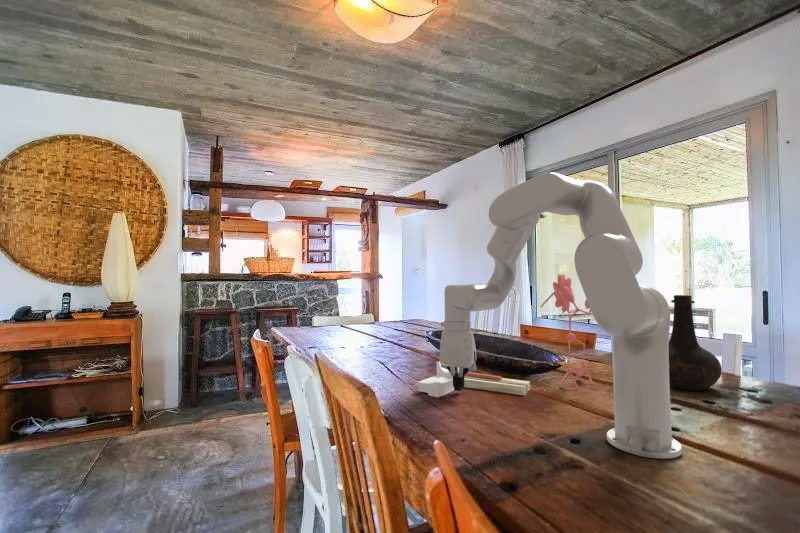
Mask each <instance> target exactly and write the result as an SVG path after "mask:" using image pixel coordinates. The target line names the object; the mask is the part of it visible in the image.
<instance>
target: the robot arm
mask: <svg viewBox="0 0 800 533" xmlns="http://www.w3.org/2000/svg"><path fill="white" fill-rule="evenodd" d="M542 213H550V214H556V215H561V216H578V219H579V225H580V227H579V228H580V230H581V232H582V235H583V236H584V238H583V239H582V240H581V241H580V243H578V245H577V247H576V249H575V251H574V252H575V253H574V259H573V260H574V261H573V262H574V267H575V268H574V269H575V271H576V275H577V277H578V280H579V282H580V286H581V288H582V290H583V293H584V296H585V298H586V299H587V301H588V304H589V307H590V308H589V310H590V309H591V315H592V316H593V318H594V320H595V321H596V322H595V323H596V324H598V326H599V327H600V328H601V329H602V330H603V331H605V332H606V334H609V335H612V336H613V338H612V339H613V340H612V381H613V383H612V384H613V386H612V387H613V411H614V412H613V413H614V428H611V429H609V430H608V431H607V432H606V440H607V442H608V443H609V444H610V445H612V446H613V447H615V448H616V449H618V450H620V451H623V452H625V453H627V454H628V453H629V454H631V455H634V456H639V457H644V458H647V459H648V458H650V459H659V460H660V459H662V460H664V459H665V460H667V459H675V458H678V457H680V456H681V455H683V445H682V444H681V443H680V442H679V441H678V440H676V439H675V438H673V435H672V433H673V432H672V411H671V410H672V409H671V389H670V383H669V340H670V328H671V327H670V326H671V310H670V306H669V303H668V301H667V299H666V297H665V296H664V295H663V294H662V293H661V292H659V290H657V289H655V288H653V287H652V286H651V287H650V286H648V285H643V284H639V282H638V280H637V277H636V275H638V274H639V272H640V271H641V270H642V267H643V263H644V262H643V254H642V252H641V249H640V247H639V245H638V242H637V241H636V240H635V237H634V235H633V232H632V230H631V228H630V226H629V223H628V221H627V219H626V217H625V214H624V213H623V211H622V208H621V206H620V203H619V201H618V199H617V197H616V195H615V194H614V192H613V191H612V190H611V189H610V188H609V187H608V185H607V186H606V185H605V184H603V183H602V182H599V181H594V180H581V179H575V178H572V177H569V176H566V175H563V174H560V173H558V172H543V173H540V174H537V175H535V176H533V177H531V178H529V179H527V180H525V181H523V182H522V183H521V182H520V183H519V184H517V185H515V186H513V187H511V188H509V189H508V190H505V191H504V192H502V193H501V194H499V195H498V196H497V197H495V198H494V200H493V201H491V204H490V206H489V209H488V219H489V221H490V223H491V224H492V225H493V226H495V227H496V228H495V230H494V232H493V234H492V236H491V237H490V240H489V242H488V243H487V245H486V252H487V253H488V255H489V256H490V257H491V258H492V259H493V260H494V268H493V269H494V270H493V271H492V272H493V273H492V274H491V277H490V278H489V280H488V282H487V283H476V284H475V283H471V284H449V285H446V286H445V287H444V321H442V322H440V326H441V327H443V328H444V330H442V331H441V337H440V341H439V342H440V344H439V361H440V363H441V367H442V368H445V369H448V371H449V372H450V373H451V375H452V376H453V387H454V390H453V391H458V392H460V391H462V390H464V388H465V387H464V376H465V375H466V374H467V373H468V372H472V373H473V372H475V371H477V365H476V363H477V348H476V341H475V336H474V331H471V327H472V326H471V324H472V323H471V312H480V311H490V310H491V311H492V310H496V309H498V308H499V307H501V305H502V304H503V303H504V302H505V300H506V299H507V297H508V296H509V294H510V292H511V291H512V290H513V286H514V285H515V280H516V275H517V274H516V273H517V272H516V271H517V261H518V258H519V256H520V255H521V253H522V251H523V250H524V248H525V246H526V244H527V242H528V241H529V239H530V237H531V235H532V234H533V231H534V230H535V228H536V227H537V224H538V223H539V220H540V218H541V214H542ZM586 299H585V300H586ZM458 367H460V368H459V373H458Z"/></svg>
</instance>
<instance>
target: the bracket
mask: <svg viewBox="0 0 800 533" xmlns="http://www.w3.org/2000/svg"><path fill="white" fill-rule="evenodd" d="M459 368H460V367H458V373H459ZM417 391H418V392H421V393H422V392H423V393H427V396H429V397H434V398H440V397H442V396H444V395H447V394H449V393H451V392H453V391H455V390H454V387H453V376H452V375H451V373H450V372H449V371H448V369H445V368H442V367H441V363H440V360H439V361H436V375H433V376H430V377H428V378H425V379H422V380H419V381H418V382H417Z"/></svg>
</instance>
